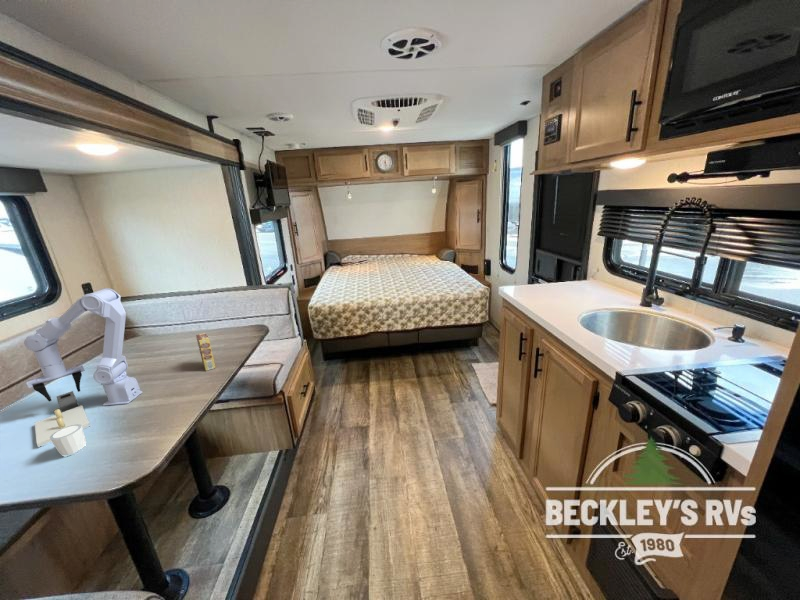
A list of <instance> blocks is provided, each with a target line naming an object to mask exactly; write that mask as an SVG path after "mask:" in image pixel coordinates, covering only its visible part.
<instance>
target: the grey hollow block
mask: <svg viewBox="0 0 800 600" xmlns="http://www.w3.org/2000/svg"><path fill="white" fill-rule="evenodd" d="M56 401H57V403H58V405H59V407H60V408H59V409H60V411H61V413H62V412H65V411H67V410H70V409H73V408H76V407H78V406H80V405H79V403H78V400H77V398H76V396H75V393H74V391H73V390H71V391H69V392H66V393H63V394H59V395H57V396H56Z"/></svg>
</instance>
